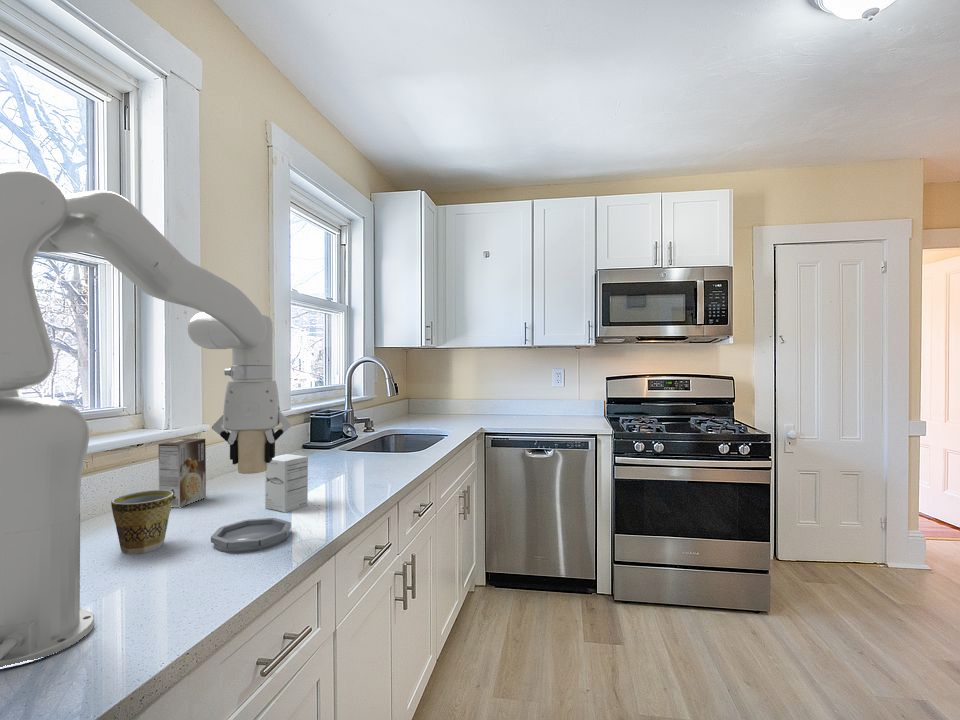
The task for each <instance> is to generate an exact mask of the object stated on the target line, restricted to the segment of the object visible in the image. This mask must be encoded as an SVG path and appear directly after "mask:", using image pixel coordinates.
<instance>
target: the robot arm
mask: <svg viewBox="0 0 960 720" xmlns="http://www.w3.org/2000/svg"><path fill="white" fill-rule="evenodd" d="M37 252H39V253H42V252H43V253H62V254H74V253H75V254H76V253H86V252H96V253H97V254H99V255H100V256H101V257H103V258H104V259H105V260H106V261H107V262H109V263H110V265H112V266H113V267H114V268H116V270H117V271H119V272H120V273H121V274H123V276H125V277H126V278H127V279H128V281H130V282H131V283H132V284H133V285H135V286H136V287H137V288H138V289H140V290H141V291H142V292H143V293H145V294H146V295H149V296H150V297H153V298H156V299H158V300H161V301H165V302H167V303H171V304H177V305H180V306H184V307H187V308H191V309H194V310H197V311H199V312H198V313H196V314H195V315H193V317H192V318H190V320H189V322H188V325H187V333H188V336H189V338H190V339H191V341H192V342H193V343H194V344H195V345H197V346H198V347H201V348H204V349H207V350H228V349H229V350H230V349H231V350H232V353H231V358H232V359H231V360H232V362H231V367H230V368H225V369H224V371H223V372H224V376H227V377H230V378H231V380H232V381H227V382H226V388H225V392H224V393H225V394H224V403H223V413H222V415H221V416H220V417H219V419H217V420H216V422H214V423H213V425H212V426H211V430H212V431H214V432H215V433H216V434H218V435H219V436H220V437H221V438H222V439H223V440H225V441H226V442H227V444H228V445H229V460H230V461H231V460H232V465H238V431H247V430H264V431H265V434H266V437H267V443H266V445H265V457H266V462H267V463H270V462H271V461H272V458H274V457H275V456H276V441H277V440H278V439H279V438H280V437H282V435H283V434H284V433H286V432H287V431H288V430H289V429H290V428H292V427H293V423H292V422H291V421H290V420H289V419H288V418H287V417H286V416H285V415H284V414H283V413H282V411H281V408H280V398H279V397H280V396H279V390H278V386H277V385H278V384H277V381H276V380H273V379H274V378H273V374H274V373H273V367H274V366H273V320H272V318H271V316H268V315H266V314H262V312H261V310H259V308H258V307H257V306H256V305H255V304H254V303H253V302H252V300H251V299H250V298H249V297H248V296H247V295H246V294H245V293H244V292H243V291H242V290H240V289H239V288H238V287H237V286H235V285H234V284H232V283H231V282H229V281H227V280H225V279H224V278H222V277H220V276H218V275H216V274H214V273H213V272H212V271H209V270H208V269H206V268H203V267H201V266H199V265H197V264H195V263H193V262H191V261H189V260H188V259H187V258H186V257H185V256H184V255H183V254H182V253H181V252H180V251H179V250H178V249H177V248H176V247H175V246H174V245H173V244H172V242H170V241H169V240H168V239H167V238H166V237H165V236H164V235H163V234H162V233H161V232H160V231H159V230H158V229H157V228H156V226H155V225H153V224H152V222H151V221H150V220H149V219H148V218H147V217H145V215H144V214H142V212H140V210H139V209H138V208H136V206H135V205H134V204H132V202H131V201H129V200H128V199H127V198H126V197H124V196H123V195H120V194H119V193H116V192H114V191H110V190H109V191H108V190H91V191H83V192H77V193H70V194H69V193H68V194H64V191H63V190H62V188H61V186H59V185H58V184H57V183H56V181H55V180H53V179H52V178H50V177H48V176H47V175H44V174H42V173H40V172H36V171H33V170H27V169H3V170H0V667H3V666H5V665H6V666H7V665H11V664H15V663H20V662H23V661H27V660H34V659H38V658H41V657H45V656H48V655H51V656H53V655H54V654H53V653H56V652H58V653H60V652H62V651H64V650H66V649H68V648H70V647H72V646H74V645H75V644H77V643H78V642H80V641H81V640H82V638H83V637H84V636H85V637H86V636H87V635H88V634H89V633H90V632H91V631H92V630H93V629H94V627H93V626H95V615H94V614H93V612H91V611H89V610H87V609H83V608H81V598H80V597H81V486H82V475H83V469H84V464H85V460H86V456H87V452H88V448H89V447H88V446H89V441H90V428H89V425H88V422H87V420H86V418H85V416H84V415H83V414H82V412H81V411H79V410H78V409H77V408H76V407H75V406H73V405H71V404H69V403H67V402H65V401H62V400H58V399H55V398H47V397H35V396H34V397H31V396H30V397H27V396H26V397H24V396H21V397H20V395H19V393H18V391H20V390H26V389H30V388H33V387H35V386H37V385H39V384H41V383H42V382H44V381H45V380H46V379H47V378H49V376H50V374H51V373H52V371H53V369H54V363H55V358H54V357H55V356H54V350H53V346H52V344H51V340H50V336H49V334H48V330H47V327H46V324H45V323H46V322H45V321H44V317H43V314H42V310H41V307H40V305H39V301H38V298H37V294H36V290H35V285H34V281H33V271H32V270H33V264H34V260H35V257H36V255H37ZM280 423H281V425H282V426H281V427H280V428H278V429H277V430H276V431H275V429H274V428H276V427H277V426H279V425H280ZM85 637H84V638H85ZM84 638H83V639H84ZM80 639H81V640H80ZM79 640H80V641H79ZM77 641H78V642H77ZM76 642H77V643H76ZM71 645H72V646H71ZM67 647H68V648H67ZM65 648H66V649H65ZM63 649H64V650H63ZM61 650H62V651H61ZM59 651H60V652H59ZM52 654H53V655H52ZM56 654H57V653H56Z"/></svg>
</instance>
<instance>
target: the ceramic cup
mask: <svg viewBox="0 0 960 720" xmlns="http://www.w3.org/2000/svg"><path fill="white" fill-rule="evenodd" d="M172 501H173V492H171V491H167V490H159V489H156V490H154V489H151V490H142V491H137V492H135V491H134V492H131V493H126V494H123V495H119V496H118V497H114V498H113V499H111V502H110V504H111V512H112V515H113V520H114V523H115V526H116V529H115V530H116V534H117V536H118V537H117V538H118V543H119V546H120V550H121V552H123V553H125V554H127V555H134V554H145V553H148V552H149V553H150V552H152V551H154V550H159V548H160V547H161V546H163V544H164V543H165V539H166V535H167V528H168V524H169V519H170V514H171V509H172V508H171V506H172Z"/></svg>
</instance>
